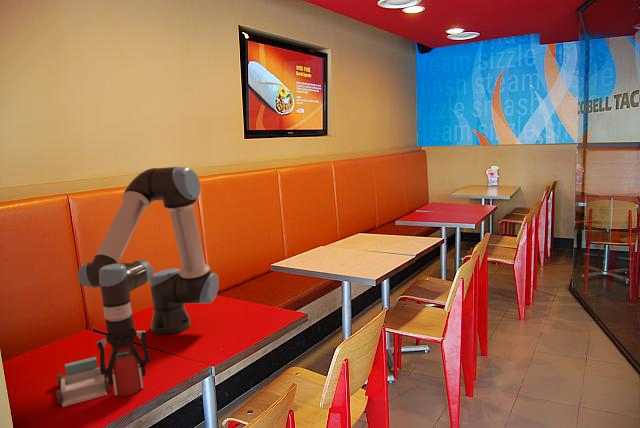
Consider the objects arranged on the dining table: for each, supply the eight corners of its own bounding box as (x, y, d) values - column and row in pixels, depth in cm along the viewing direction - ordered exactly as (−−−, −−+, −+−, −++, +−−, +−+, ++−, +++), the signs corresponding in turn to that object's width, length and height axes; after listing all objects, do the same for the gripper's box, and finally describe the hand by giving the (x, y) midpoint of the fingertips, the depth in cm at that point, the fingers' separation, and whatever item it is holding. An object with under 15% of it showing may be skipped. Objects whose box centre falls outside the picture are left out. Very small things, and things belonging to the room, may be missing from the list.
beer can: (121, 386, 152) (116, 350, 150) (143, 384, 153) (138, 348, 151) (114, 398, 146) (108, 359, 144) (137, 395, 146) (132, 357, 144)
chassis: (58, 383, 157) (56, 366, 156) (106, 371, 164) (104, 354, 163) (58, 408, 142) (55, 389, 141) (110, 393, 149) (108, 375, 148)
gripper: (82, 329, 138) (94, 405, 142) (155, 313, 147) (164, 385, 150) (81, 320, 145) (93, 393, 148) (151, 306, 153) (160, 375, 157)
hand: (128, 389), depth 149 cm, fingers closed on beer can, 7 cm apart
